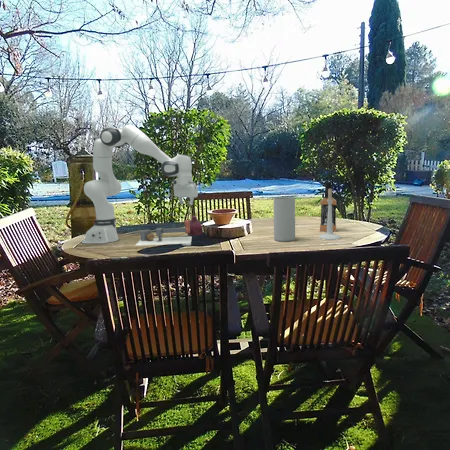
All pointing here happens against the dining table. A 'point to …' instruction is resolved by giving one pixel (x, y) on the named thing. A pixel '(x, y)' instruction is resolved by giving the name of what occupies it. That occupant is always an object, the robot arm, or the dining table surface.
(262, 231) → the dining table surface
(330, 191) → the candlestick
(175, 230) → the lever
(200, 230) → the vegetable
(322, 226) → the whiskey bottle
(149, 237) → the brown ball
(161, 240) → the board
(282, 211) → the cylinder vase
